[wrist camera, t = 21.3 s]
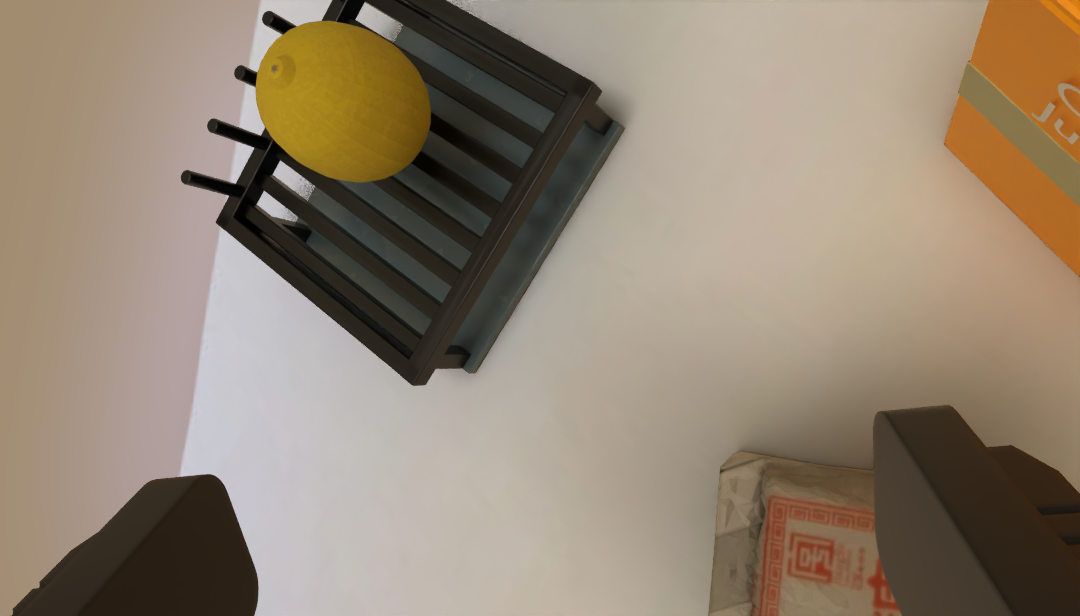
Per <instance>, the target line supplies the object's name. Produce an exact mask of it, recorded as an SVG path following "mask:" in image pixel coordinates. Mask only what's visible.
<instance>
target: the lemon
mask: <svg viewBox="0 0 1080 616" xmlns="http://www.w3.org/2000/svg"><path fill="white" fill-rule="evenodd" d="M256 101H257V106H258V110H259V113H260V117H261V119H262V121H263V123H264V125H265V127H266V129H267V130H268V132H269V134H270V136H271V137H272V138H273V139H274V141H275V142H276V143H277V144H278V145H280V146H281V147H282V148H283V149H284V150H285V151H286V152H287V153H288V154H289V155H290V156H291V157H293V158H294V159H295V160H296V161H298V162H299V163H301V164H302V165H304V166H306V167H308V168H310V169H312V170H314V171H316V172H318V173H320V174H322V175H324V176H327V177H329V178H333V179H337V180H344V181H350V182H370V181H376V180H381V179H385V178H387V177H389V176H392V175H394V174H396V173H398V172H400V171H401V170H402V169H404V168H405V167H406V166H407V165H409V164H410V163H411V162H412V161H413V160H414V159H415V157H416V156H417V155H418V153H419V152H420V151H421V149H422V147H423V145H424V143H425V141H426V139H427V136H428V132H429V128H430V124H431V105H430V100H429V95H428V91H427V88H426V86H425V84H424V82H423V80H422V77H421V75H420V73H419V72H418V70H417V69H416V67H415V66H414V65H413V64H412V63H411V61H410V60H409V59H408V58H407V57H406V56H405V55H404V54H403V53H402V52H401V51H400V50H399V49H398V48H397V47H396V46H394V45H393V44H392V43H390V42H388V41H387V40H385V39H383V38H382V37H380V36H378V35H376V34H375V33H373V32H371V31H369V30H366V29H364V28H361V27H358V26H353V25H349V24H344V23H340V22H334V21H318V22H309V23H305V24H302V25H300V26H297V27H295V28H293V29H291V30H289V31H287V32H286V33H285V34H283V35H282V36H281V37H279V38H278V39H277V40H276V41H275V42H274V43H273V44H272V46H271V47H270V48H269V49H268V51H267V52H266V54H265V56H264V58H263V60H262V62H261V65H260V67H259V70H258V73H257V80H256Z"/></svg>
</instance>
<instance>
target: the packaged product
mask: <svg viewBox="0 0 1080 616" xmlns="http://www.w3.org/2000/svg"><path fill="white" fill-rule="evenodd" d="M709 616H902V615H901V612H900V610H899V608H898V606H897V604H896V601H895V599H894V597H893V595H892V593H891V591H890V588H889V586H888V584H887V581H886V579H885V576H884V573H883V569H882V566H881V562H880V558H879V553H878V548H877V542H876V535H875V512H874V471H872V470H863V469H853V468H844V467H834V466H825V465H818V464H812V463H806V462H800V461H794V460H788V459H782V458H777V457H771V456H765V455H759V454H753V453H747V452H741V451H738V452H737V453H735V454H733V455H732V456H731V457H730V458H729V459H728V460H727V461H726V462H725V463H724V464H723V465H722V466H721V467H720V479H719V493H718V506H717V520H716V533H715V546H714V558H713V569H712V581H711V593H710V604H709Z"/></svg>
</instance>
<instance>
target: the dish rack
mask: <svg viewBox="0 0 1080 616" xmlns="http://www.w3.org/2000/svg"><path fill="white" fill-rule="evenodd" d="M364 2H365V3H367V4H369V5H371V6H372V7H374V8H376V9H377V10H379V11H381V12H383V13H384V14H386V15H388V16H389V17H391V18H393V19H394V20H396V21H398V22H400V23H401V24H403V25H404V26H403V28H402V29H401V31H400V33H399V35H398V37H397V39H396V40H395V42H394V43H393V42H391V41H389V40H388V39H386V38H384V37H383V36H381V35H379V34H378V33H376V32H374V31H373V30H371V29H369V28H368V27H366V26H365V25H363V24H361V23H360V22H358V21H356V20H355V19H356V17H357V16H358V14H359V12H360V10H361V8H362V6H363V4H364ZM262 21H263V23H264V24H265V25H266V26H268V27H270V28H272V29H273V30H275V31H277V32H279V33H281V34H282V35H283V34H285V33H286V32H287V31H289V30H291V29H293V28H295V27H297V26H295V25H294V24H292V23H290V22H289V21H287V20H285V19H283V18H282V17H280V16H278V15H277V14H275V13H273V12H271V11H267V12H265V13H264V15H263V17H262ZM322 21H334V22H340V23H344V24H349V25H353V26H358V27H361V28H364V29H366V30H369V31H371V32H373V33H375V34H376V35H378V36H380V37H382V38H383V39H385V40H387V41H388V42H390V43H392V44H393V45H394V46H396V47H397V48H398V49H399V50H400V51H401V52H402V53H403V54H404V55H405V56H406V57H407V58H408V59H409V60H410V61H411V63H412V64H413V65H414V66H415V67H416V69H417V70H418V72H419V73H420V75H421V77H422V80H423V82H424V84H425V86H426V88H427V91H428V95H429V100H430V105H431V124H430V128H429V132H428V136H427V139H426V141H425V143H424V145H423V147H422V149H421V151H420V152H419V153H418V155H417V156H416V157H415V159H414V160H413V161H412V162H411V163H410V164H409V165H407V166H406V167H405V168H404V169H402V170H401V171H400V172H398V173H396V174H394V175H392V176H389V177H387V178H385V179H381V180H376V181H370V182H350V181H344V180H337V179H333V178H329V177H327V176H324V175H322V174H320V173H318V172H316V171H314V170H312V169H310V168H308V167H306V166H304V165H302V164H301V163H299V162H298V161H296V160H295V159H294V158H293V157H291V156H290V155H289V154H288V153H287V152H286V151H285V150H284V149H283V148H282V147H281V146H280V145H278V144H277V143H276V142H275V141H274V139H273V138H272V137H271V136H270V134H269V132H268V130H267V129H266V127H265V129H264V131H263V133H262V135H261V136H260V135H258V134H255V133H252V132H250V131H247V130H244V129H242V128H239V127H236V126H234V125H231V124H228V123H225V122H223V121H220V120H217V119H211V120H210V121H209V122H208V125H207V127H208V130H209V131H210V132H211V133H214V134H217V135H220V136H223V137H226V138H228V139H231V140H234V141H237V142H240V143H243V144H246V145H248V146H251V147H254V150H253V152H252V154H251V156H250V158H249V160H248V162H247V163H246V165H245V167H244V169H243V171H242V173H241V175H240V177H239V179H238V181H237V182H236V184H235V183H231V182H228V181H224V180H221V179H217V178H213V177H209V176H206V175H203V174H199V173H196V172H192V171H189V170H186V171H184V172H183V173H182V175H181V181H182V182H183V183H184V184H187V185H190V186H194V187H198V188H202V189H206V190H209V191H213V192H217V193H221V194H225V195H228V196H229V198H228V200H227V201H226V203H225V205H224V207H223V209H222V211H221V213H220V215H219V217H218V219H217V221H216V223H217V224H218V225H219V226H220V227H222V228H223V229H224V230H225V231H227V232H228V233H229V234H230V235H231V236H233V237H234V238H235V239H236V240H238V241H239V242H240V243H241V244H242V245H244V246H245V247H246V248H247V249H248V250H250V251H251V252H252V253H253V254H254V255H256V256H257V257H258V258H259V259H261V260H262V261H263V262H264V263H265V264H267V265H268V266H269V267H270V268H271V269H273V270H274V271H275V272H276V273H277V274H279V275H280V276H281V277H282V278H284V279H285V280H286V281H287V282H288V283H290V284H291V285H292V286H293V287H294V288H296V289H297V290H298V291H299V292H300V293H302V294H303V295H304V296H305V297H307V298H308V299H309V300H310V301H311V302H313V303H314V304H315V305H316V306H317V307H319V308H320V309H321V310H322V311H323V312H325V313H326V314H327V315H328V316H330V317H331V318H332V319H333V320H334V321H336V322H337V323H338V324H339V325H340V326H342V327H343V328H344V329H345V330H347V331H348V332H349V333H350V334H351V335H353V336H354V337H355V338H356V339H357V340H359V341H360V342H361V343H362V344H363V345H365V346H366V347H367V348H368V349H370V350H371V351H372V352H373V353H374V354H376V355H377V356H378V357H379V358H380V359H382V360H383V361H384V362H385V363H386V364H388V365H389V366H390V367H391V368H393V369H394V370H395V371H396V372H397V373H399V374H400V376H402V377H403V378H404V379H405V380H406V381H408V382H409V383H410V384H411V385H413V386H418V385H426V384H427V382H428V380H429V379H430V377H431V375H432V374H433V372H434V370H435V369H459V368H463V369H464V370H465V371H466V372H468V373H475V372H476V370H477V369H478V367H479V365H480V364H481V362H482V361H483V359H484V357H485V356H486V354H487V352H488V351H489V349H490V348H491V346H492V344H493V343H494V341H495V339H496V338H497V336H498V334H499V333H500V331H501V330H502V328H503V326H504V325H505V323H506V321H507V320H508V318H509V316H510V315H511V313H512V312H513V310H514V308H515V307H516V305H517V303H518V302H519V300H520V299H521V297H522V295H523V294H524V292H525V290H526V289H527V287H528V285H529V284H530V282H531V281H532V279H533V277H534V276H535V274H536V272H537V271H538V269H539V268H540V266H541V264H542V263H543V261H544V259H545V258H546V256H547V254H548V253H549V251H550V250H551V248H552V246H553V245H554V243H555V241H556V240H557V238H558V237H559V235H560V233H561V232H562V230H563V228H564V227H565V225H566V223H567V222H568V220H569V219H570V217H571V215H572V214H573V212H574V210H575V209H576V207H577V205H578V204H579V202H580V201H581V199H582V197H583V196H584V194H585V192H586V191H587V189H588V188H589V186H590V184H591V183H592V181H593V179H594V178H595V176H596V174H597V173H598V171H599V170H600V168H601V166H602V165H603V163H604V161H605V160H606V158H607V157H608V155H609V153H610V152H611V150H612V148H613V147H614V145H615V143H616V142H617V140H618V139H619V137H620V135H621V134H622V132H623V130H624V127H623V126H622V125H621V124H619V123H618V122H616V121H614V120H613V119H612V118H611V117H610V116H608V115H607V114H606V113H605V112H604V111H603V110H602V109H601V108H600V107H599V106H598V105H597V104H596V101H597V100H598V98H599V96H600V95H601V93H602V90H601V89H600V88H599V87H598V86H597V85H596V84H595V83H594V82H592V81H591V80H589V79H587V78H585V77H583V76H582V75H580V74H578V73H576V72H574V71H572V70H571V69H569V68H567V67H565V66H563V65H562V64H560V63H558V62H556V61H554V60H553V59H551V58H549V57H547V56H545V55H544V54H542V53H540V52H538V51H536V50H534V49H533V48H531V47H529V46H527V45H525V44H524V43H522V42H520V41H518V40H516V39H515V38H513V37H511V36H509V35H507V34H506V33H504V32H502V31H500V30H498V29H497V28H495V27H493V26H491V25H489V24H488V23H486V22H484V21H482V20H480V19H478V18H477V17H475V16H473V15H471V14H469V13H468V12H466V11H464V10H462V9H460V8H459V7H457V6H455V5H453V4H451V3H450V2H448V1H446V0H332V2H331V4H330V6H329V8H328V10H327V12H326V13H325V15H324V17H323V19H322ZM234 75H235V77H236V78H237V79H238V80H241V81H243V82H245V83H247V84H249V85H251V86H254V87H256V80H257V72H255V71H253V70H251V69H249V68H247V67H245V66H242V65H240V66H238V67H237V68H236V69H235V72H234ZM280 160H281V161H282V162H284V163H285V164H286V165H288V166H289V167H290V168H292V169H293V170H294V171H296V172H297V173H298V174H300V175H301V176H302V177H304V178H305V179H307V180H308V181H309V182H311V183H312V184H313V185H315V186H316V187H315V189H314V190H313V192H312V194H311V196H310V198H309V200H308V201H306V200H305V199H304V198H303V197H301V196H300V195H299V194H297V193H296V192H295V191H293V190H292V189H291V188H289V187H288V186H287V185H285V184H284V183H283V182H281V181H280V180H279V179H277V178H276V177H275V176H273V173H274V171H275V169H276V167H277V165H278V163H279V161H280ZM263 191H265V192H267V193H268V194H269V195H271V196H272V197H273V198H275V199H276V200H277V201H278V202H280V203H281V204H282V205H284V206H285V207H286V208H288V209H289V210H290V211H291V212H293V213H294V214H295V215H297V216H298V217H299V218H298V220H297V222H292V221H288V220H284V219H280V218H276V217H272V216H271V215H269V214H268V213H267V212H265V211H264V210H263V209H262V208H260V207H259V206H258V205H256V204H257V203H258V201H259V199H260V197H261V195H262V193H263ZM268 236H269V237H268ZM304 265H305V266H304ZM309 269H310V270H309ZM314 273H315V274H314ZM319 277H320V278H319ZM355 306H356V307H355ZM360 310H361V311H360ZM365 314H366V315H365ZM370 318H371V319H370ZM406 347H407V348H406ZM411 351H412V352H411Z"/></svg>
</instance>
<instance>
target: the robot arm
mask: <svg viewBox="0 0 1080 616" xmlns="http://www.w3.org/2000/svg"><path fill="white" fill-rule="evenodd" d="M873 454H874V512H875V535H876V542H877V548H878V553H879V558H880V562H881V566H882V569H883V573H884V576H885V579H886V581H887V584H888V586H889V588H890V591H891V593H892V595H893V597H894V599H895V601H896V604H897V606H898V608H899V610H900V612H901V615H902V616H1080V494H1079V492H1078V491H1077V490H1076V489H1075V488H1074V487H1073V486H1072V485H1071V484H1070V483H1069V482H1068V481H1067V480H1066V479H1065V477H1064V476H1063V475H1062V474H1061V473H1060V472H1059V471H1057V470H1056V469H1054V468H1052V467H1050V466H1048V465H1047V464H1045V463H1043V462H1041V461H1039V460H1038V459H1036V458H1034V457H1032V456H1030V455H1028V454H1027V453H1025V452H1023V451H1021V450H1019V449H1018V448H1016V447H1014V446H1012V445H1009V446H998V447H986V446H985V445H984V444H983V443H982V441H981V440H980V439H979V438H978V436H977V435H976V434H975V433H974V432H973V430H972V429H971V428H970V427H969V425H968V424H967V423H966V422H965V421H964V419H963V418H962V417H961V416H960V415H959V413H958V412H957V411H956V410H955V409H954V408H953V407H952V406H950V405H942V406H931V407H921V408H910V409H900V410H890V411H880V412H877V414H876V416H875V419H874V425H873ZM257 602H258V578H257V573H256V570H255V567H254V564H253V561H252V558H251V556H250V553H249V550H248V547H247V545H246V542H245V539H244V536H243V534H242V531H241V528H240V525H239V523H238V520H237V517H236V515H235V512H234V509H233V506H232V504H231V501H230V498H229V495H228V493H227V490H226V488H225V486H224V484H223V483H222V482H221V480H220V479H219V478H217V477H216V476H214V475H210V474H206V475H195V476H185V477H175V478H165V479H156V480H152V481H150V482H148V483H147V484H146V485H144V486H143V487H142V488H141V489H140V490H139V491H138V492H137V493H136V494H135V495H134V496H133V497H132V498H131V499H130V500H129V501H128V502H127V503H126V504H125V505H124V507H123V508H121V510H120V511H119V512H118V513H117V514H116V515H115V516H114V517H113V518H112V519H111V520H110V521H109V522H108V523H107V524H106V525H105V526H104V527H103V528H102V529H101V530H100V531H99V532H98V533H96V534H95V535H93V536H92V537H90V538H89V539H88V540H86V541H84V542H83V543H81V544H80V545H78V546H77V547H76V548H74V549H73V550H71V551H70V552H69V553H68V554H67V555H66V556H65V557H64V558H63V559H62V560H61V561H60V562H59V563H58V564H57V565H56V566H55V567H54V568H53V569H52V570H51V571H50V572H49V573H48V574H47V575H46V576H45V577H44V578H43V579H42V580H41V581H40V587H39V588H37V589H32V590H31V591H30V592H29V593H28V594H27V595H26V596H25V597H24V599H22V600H21V602H19V603H18V604H17V606H16V607H14V608H13V615H12V616H254V614H255V611H256V607H257Z"/></svg>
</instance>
